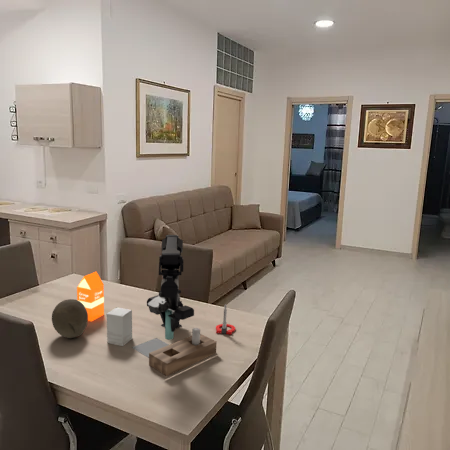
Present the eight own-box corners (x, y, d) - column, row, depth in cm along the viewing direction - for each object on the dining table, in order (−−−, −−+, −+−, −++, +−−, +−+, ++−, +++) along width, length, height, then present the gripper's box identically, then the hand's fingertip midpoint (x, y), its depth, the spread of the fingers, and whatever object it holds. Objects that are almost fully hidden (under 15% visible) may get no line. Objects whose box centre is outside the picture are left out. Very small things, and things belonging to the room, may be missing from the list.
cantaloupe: (95, 331, 177) (94, 297, 174) (76, 346, 164) (75, 309, 161) (65, 326, 180) (63, 293, 177) (44, 341, 167) (42, 305, 164)
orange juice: (77, 318, 189) (76, 275, 185) (90, 311, 197) (89, 269, 193) (91, 321, 186) (90, 277, 182) (104, 314, 194) (103, 272, 190)
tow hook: (217, 325, 188) (213, 333, 179) (219, 297, 186) (215, 304, 177) (236, 327, 187) (233, 335, 178) (238, 299, 185) (235, 306, 176)
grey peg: (190, 354, 161) (190, 329, 159) (195, 351, 163) (196, 327, 161) (195, 357, 159) (196, 332, 157) (201, 354, 161) (201, 329, 159)
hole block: (149, 365, 152) (149, 353, 151) (198, 344, 169) (198, 332, 168) (166, 377, 145) (167, 363, 144) (216, 353, 162) (216, 341, 161)
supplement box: (132, 339, 171) (132, 309, 169) (122, 347, 165) (122, 316, 162) (117, 335, 174) (116, 306, 171) (106, 343, 167) (105, 313, 164)
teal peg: (169, 335, 153) (170, 308, 152) (175, 337, 151) (175, 311, 150) (163, 337, 151) (163, 311, 149) (169, 340, 149) (169, 313, 147)
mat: (131, 348, 164) (131, 347, 164) (156, 338, 172) (156, 337, 172) (150, 359, 156) (150, 358, 156) (175, 349, 164) (175, 348, 164)
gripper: (134, 286, 148) (134, 328, 150) (171, 300, 136) (170, 345, 139) (159, 279, 156) (158, 320, 159) (195, 292, 144) (194, 335, 147)
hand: (169, 329), depth 151 cm, fingers closed on teal peg, 3 cm apart
